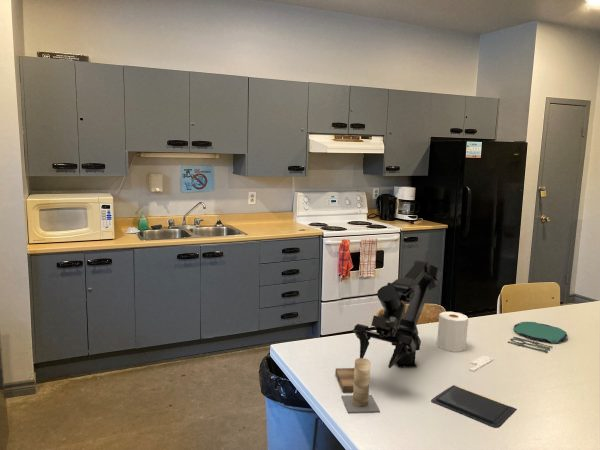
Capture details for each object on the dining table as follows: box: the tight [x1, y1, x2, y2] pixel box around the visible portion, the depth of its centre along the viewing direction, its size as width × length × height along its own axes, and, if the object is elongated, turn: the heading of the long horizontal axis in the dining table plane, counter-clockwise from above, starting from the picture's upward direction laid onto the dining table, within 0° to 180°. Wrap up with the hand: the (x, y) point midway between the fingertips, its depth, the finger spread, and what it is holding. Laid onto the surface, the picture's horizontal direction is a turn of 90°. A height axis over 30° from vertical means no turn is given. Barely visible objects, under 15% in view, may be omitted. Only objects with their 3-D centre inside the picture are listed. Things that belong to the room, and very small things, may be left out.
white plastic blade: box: [468, 355, 495, 373], centre depth 169 cm, size 5×15×1 cm, turn 133°
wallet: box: [430, 384, 518, 429], centre depth 140 cm, size 20×2×15 cm
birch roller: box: [352, 357, 372, 407], centre depth 137 cm, size 4×4×12 cm
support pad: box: [341, 394, 381, 414], centre depth 138 cm, size 9×9×1 cm
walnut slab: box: [334, 367, 355, 394], centre depth 151 cm, size 12×7×2 cm, turn 7°
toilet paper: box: [436, 311, 469, 353], centre depth 182 cm, size 10×10×12 cm
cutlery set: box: [507, 321, 568, 354], centre depth 196 cm, size 20×30×2 cm, turn 138°
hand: (374, 363), depth 144 cm, fingers open, 9 cm apart
